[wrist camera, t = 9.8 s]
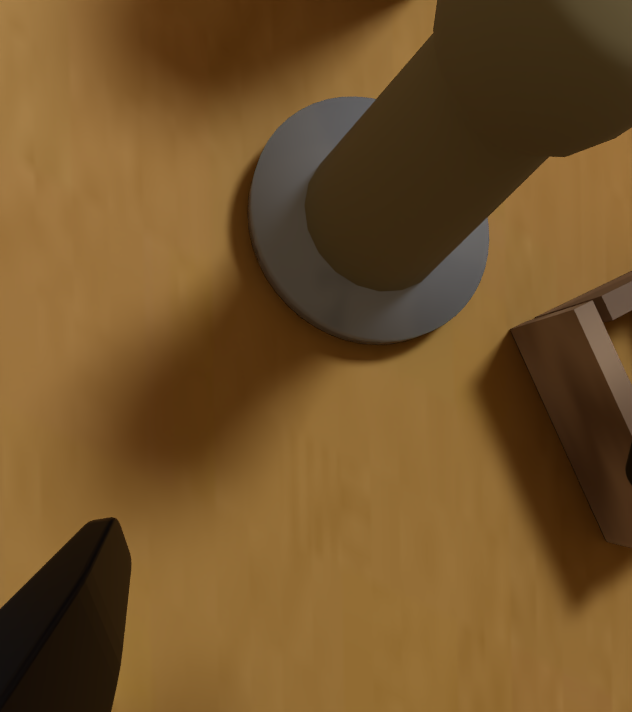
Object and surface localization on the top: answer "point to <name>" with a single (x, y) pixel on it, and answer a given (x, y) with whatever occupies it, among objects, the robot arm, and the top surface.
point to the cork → (468, 130)
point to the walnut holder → (588, 396)
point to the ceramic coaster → (311, 271)
